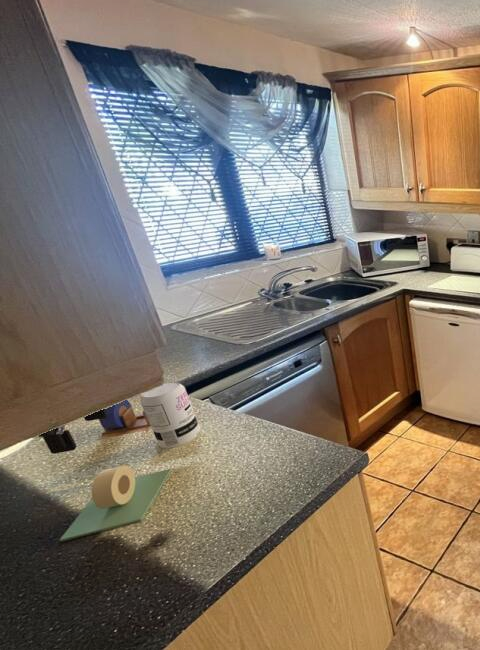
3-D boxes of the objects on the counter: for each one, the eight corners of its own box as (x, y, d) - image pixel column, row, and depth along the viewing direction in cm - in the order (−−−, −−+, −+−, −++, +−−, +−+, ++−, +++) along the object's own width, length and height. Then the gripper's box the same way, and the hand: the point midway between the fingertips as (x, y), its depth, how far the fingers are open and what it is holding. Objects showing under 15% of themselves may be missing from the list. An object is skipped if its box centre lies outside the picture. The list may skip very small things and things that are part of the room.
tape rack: (99, 442, 96) (91, 426, 94) (118, 421, 104) (111, 406, 102) (149, 432, 99) (142, 416, 97) (164, 413, 107) (157, 397, 105)
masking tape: (101, 517, 75) (85, 488, 72) (122, 489, 81) (107, 461, 79) (121, 512, 76) (106, 483, 73) (139, 485, 82) (126, 457, 80)
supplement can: (159, 439, 97) (137, 388, 91) (200, 424, 102) (181, 376, 97) (160, 456, 91) (137, 403, 86) (203, 440, 96) (183, 389, 91)
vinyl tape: (106, 436, 97) (94, 411, 94) (122, 419, 103) (111, 395, 100) (121, 433, 98) (110, 408, 95) (136, 416, 104) (125, 392, 101)
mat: (60, 542, 71) (59, 540, 70) (103, 486, 83) (102, 484, 83) (141, 520, 75) (140, 519, 74) (171, 470, 87) (170, 468, 87)
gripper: (48, 337, 72) (84, 412, 79) (-32, 383, 57) (20, 471, 64) (99, 331, 75) (130, 404, 81) (35, 374, 60) (79, 460, 66)
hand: (81, 433), depth 72 cm, fingers open, 9 cm apart
